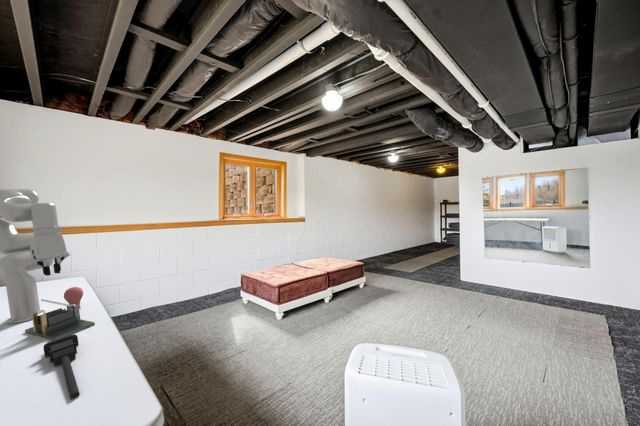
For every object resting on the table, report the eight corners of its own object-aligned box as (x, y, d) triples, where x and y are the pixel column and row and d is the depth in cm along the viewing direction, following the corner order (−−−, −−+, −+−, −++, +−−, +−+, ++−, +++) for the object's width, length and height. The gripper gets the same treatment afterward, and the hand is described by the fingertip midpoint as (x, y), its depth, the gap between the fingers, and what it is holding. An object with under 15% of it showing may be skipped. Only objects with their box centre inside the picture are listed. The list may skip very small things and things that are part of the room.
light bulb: (73, 314, 128) (70, 289, 127) (62, 313, 129) (58, 289, 128) (89, 307, 135) (86, 284, 134) (78, 307, 136) (75, 284, 135)
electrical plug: (76, 341, 100) (75, 328, 100) (97, 394, 73) (95, 377, 72) (44, 352, 94) (42, 339, 94) (53, 415, 66) (50, 396, 66)
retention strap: (39, 301, 108) (42, 297, 109) (71, 308, 117) (73, 304, 118) (43, 302, 107) (46, 298, 108) (75, 308, 116) (77, 305, 117)
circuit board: (25, 332, 111) (22, 311, 111) (64, 318, 123) (61, 299, 122) (55, 340, 102) (51, 317, 101) (94, 324, 114) (91, 304, 113)
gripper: (65, 229, 122) (71, 268, 123) (15, 235, 107) (21, 279, 108) (75, 229, 119) (80, 269, 120) (24, 234, 104) (30, 280, 105)
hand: (52, 273), depth 114 cm, fingers open, 2 cm apart
